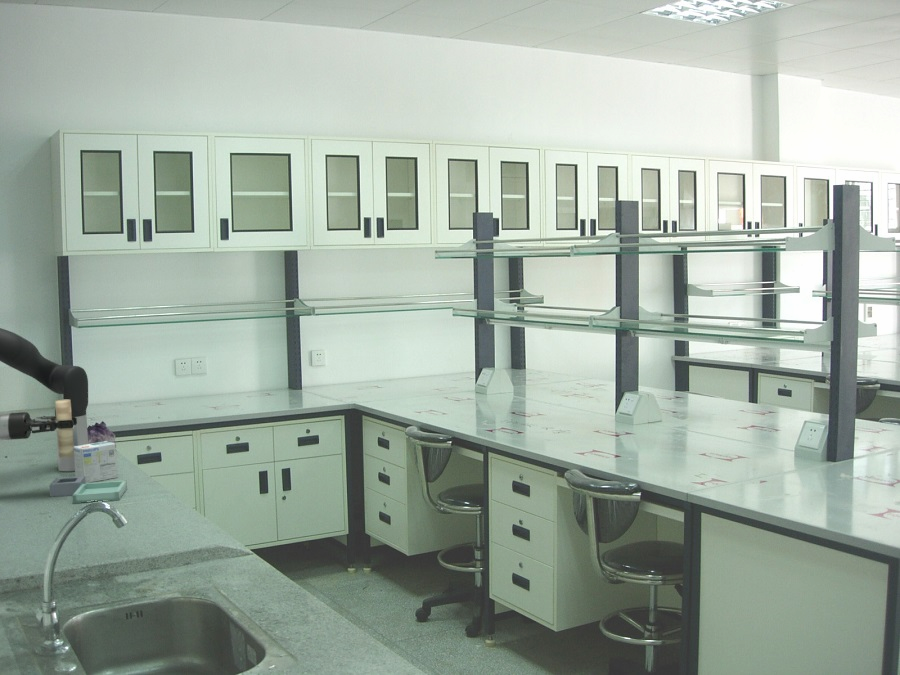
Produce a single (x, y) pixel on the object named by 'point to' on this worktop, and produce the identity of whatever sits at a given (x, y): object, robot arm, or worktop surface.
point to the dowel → (66, 433)
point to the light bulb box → (95, 461)
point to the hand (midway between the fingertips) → (74, 422)
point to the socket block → (66, 486)
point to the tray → (100, 491)
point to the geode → (100, 434)
